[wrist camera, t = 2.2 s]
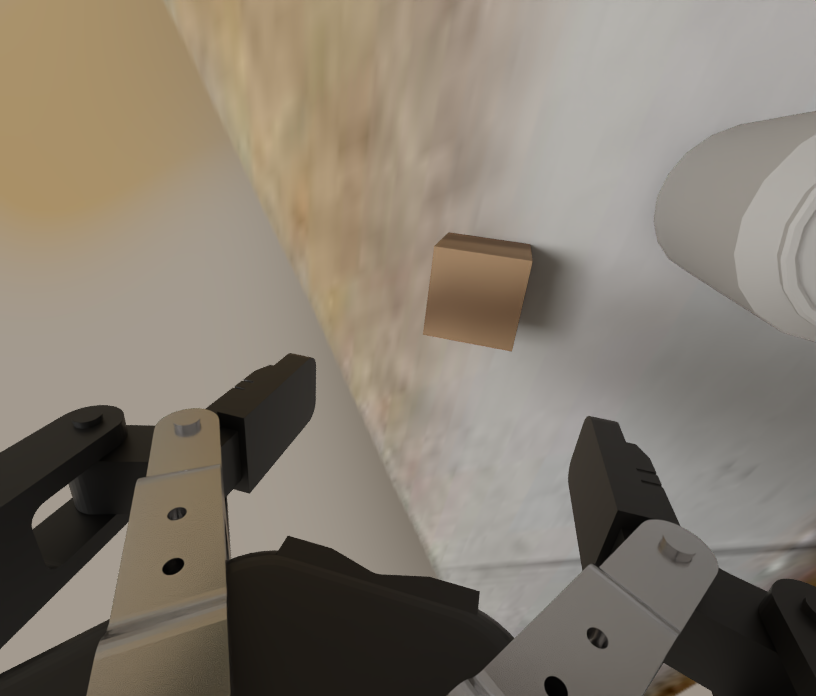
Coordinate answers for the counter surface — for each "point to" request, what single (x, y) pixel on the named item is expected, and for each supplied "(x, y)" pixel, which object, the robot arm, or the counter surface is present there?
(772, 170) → the can
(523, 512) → the counter surface
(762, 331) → the counter surface
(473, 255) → the block
